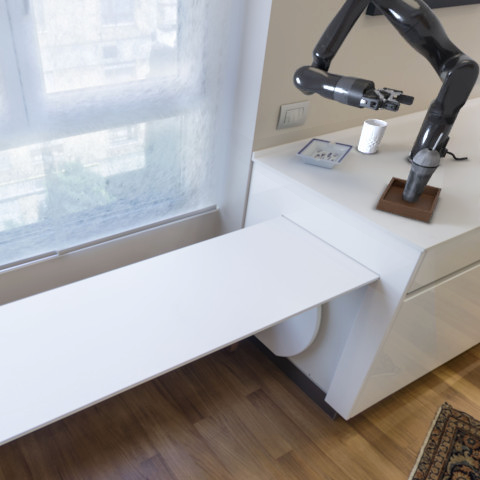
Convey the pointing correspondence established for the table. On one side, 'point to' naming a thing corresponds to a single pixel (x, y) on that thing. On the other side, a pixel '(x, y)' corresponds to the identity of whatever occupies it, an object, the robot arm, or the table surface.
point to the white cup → (371, 135)
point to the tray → (414, 210)
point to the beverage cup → (421, 172)
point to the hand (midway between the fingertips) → (405, 104)
